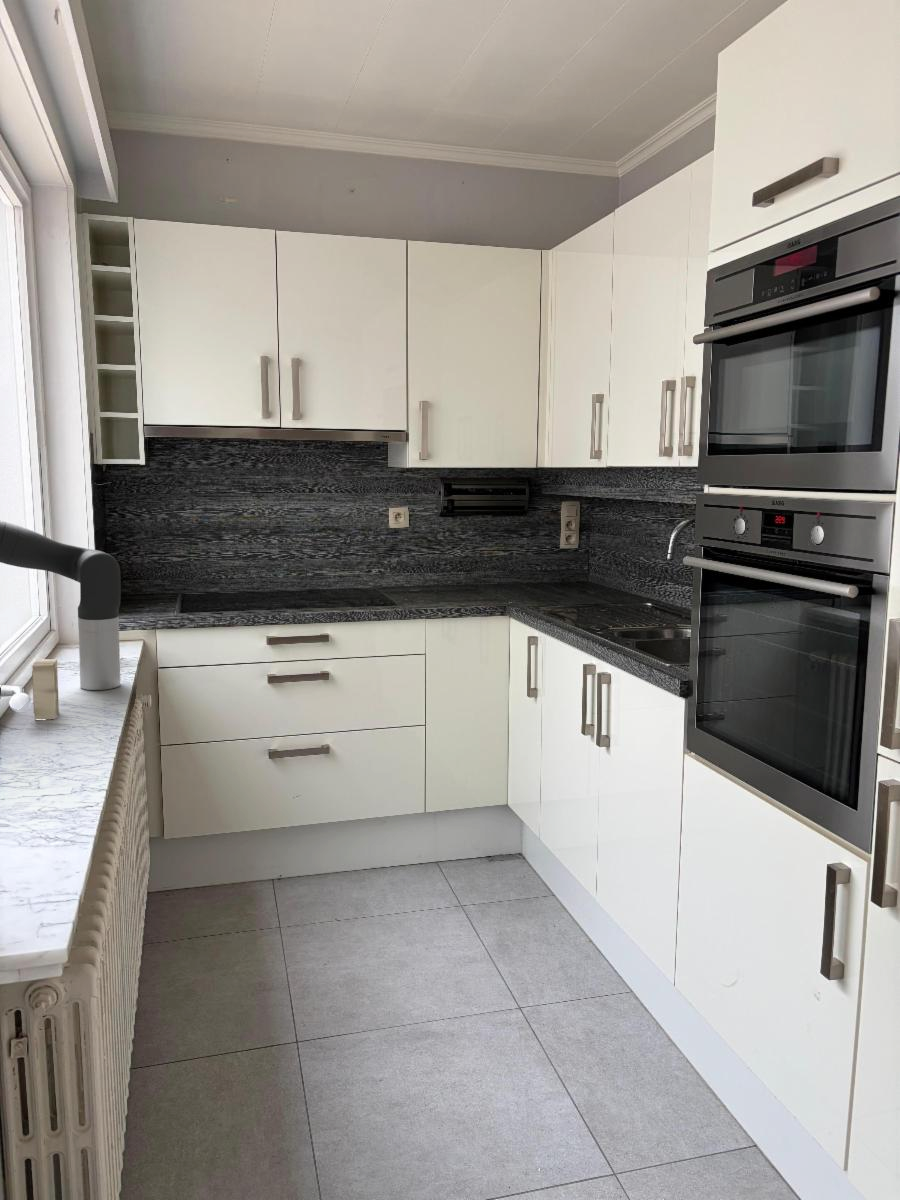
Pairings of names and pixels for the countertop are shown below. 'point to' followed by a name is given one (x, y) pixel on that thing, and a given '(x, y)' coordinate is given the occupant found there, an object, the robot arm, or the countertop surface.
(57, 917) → the countertop surface
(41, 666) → the birch block
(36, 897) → the countertop surface
